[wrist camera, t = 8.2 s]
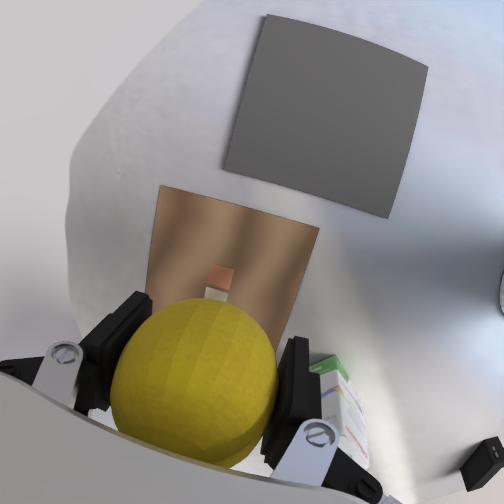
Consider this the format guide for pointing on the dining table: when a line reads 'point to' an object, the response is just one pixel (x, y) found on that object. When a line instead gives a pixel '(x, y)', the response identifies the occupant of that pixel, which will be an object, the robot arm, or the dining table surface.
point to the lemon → (197, 382)
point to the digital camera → (483, 464)
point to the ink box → (343, 409)
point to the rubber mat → (327, 115)
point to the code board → (227, 257)
